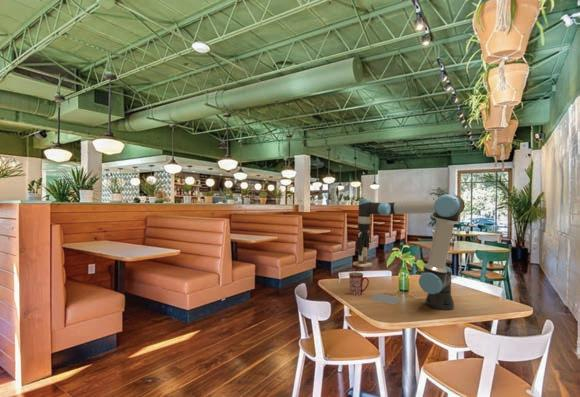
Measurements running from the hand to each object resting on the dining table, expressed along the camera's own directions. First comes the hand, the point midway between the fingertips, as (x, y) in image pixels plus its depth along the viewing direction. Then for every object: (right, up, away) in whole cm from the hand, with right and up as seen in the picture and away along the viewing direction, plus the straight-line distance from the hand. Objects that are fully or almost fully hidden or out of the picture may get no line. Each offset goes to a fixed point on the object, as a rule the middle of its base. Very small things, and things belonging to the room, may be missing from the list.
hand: (362, 260), depth 203 cm
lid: (0, -3, 0) cm, 3 cm away
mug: (-3, -23, 0) cm, 23 cm away
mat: (+12, -23, -7) cm, 27 cm away
